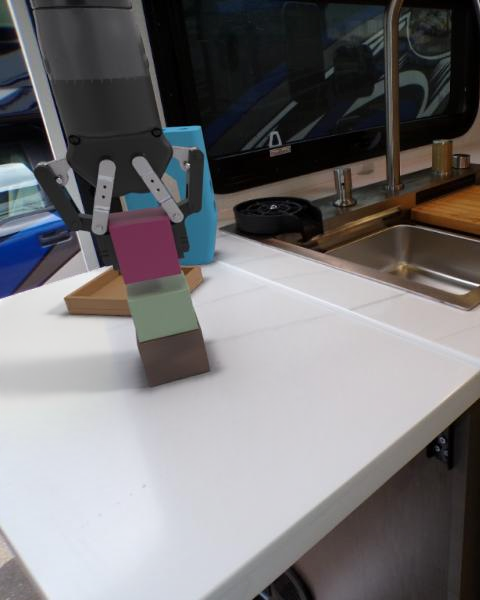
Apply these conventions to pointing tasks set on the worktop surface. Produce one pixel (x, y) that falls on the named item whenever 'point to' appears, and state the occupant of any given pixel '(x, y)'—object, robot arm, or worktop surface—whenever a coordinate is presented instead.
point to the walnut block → (174, 356)
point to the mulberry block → (144, 244)
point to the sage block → (161, 307)
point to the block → (197, 224)
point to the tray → (114, 293)
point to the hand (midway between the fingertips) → (149, 261)
